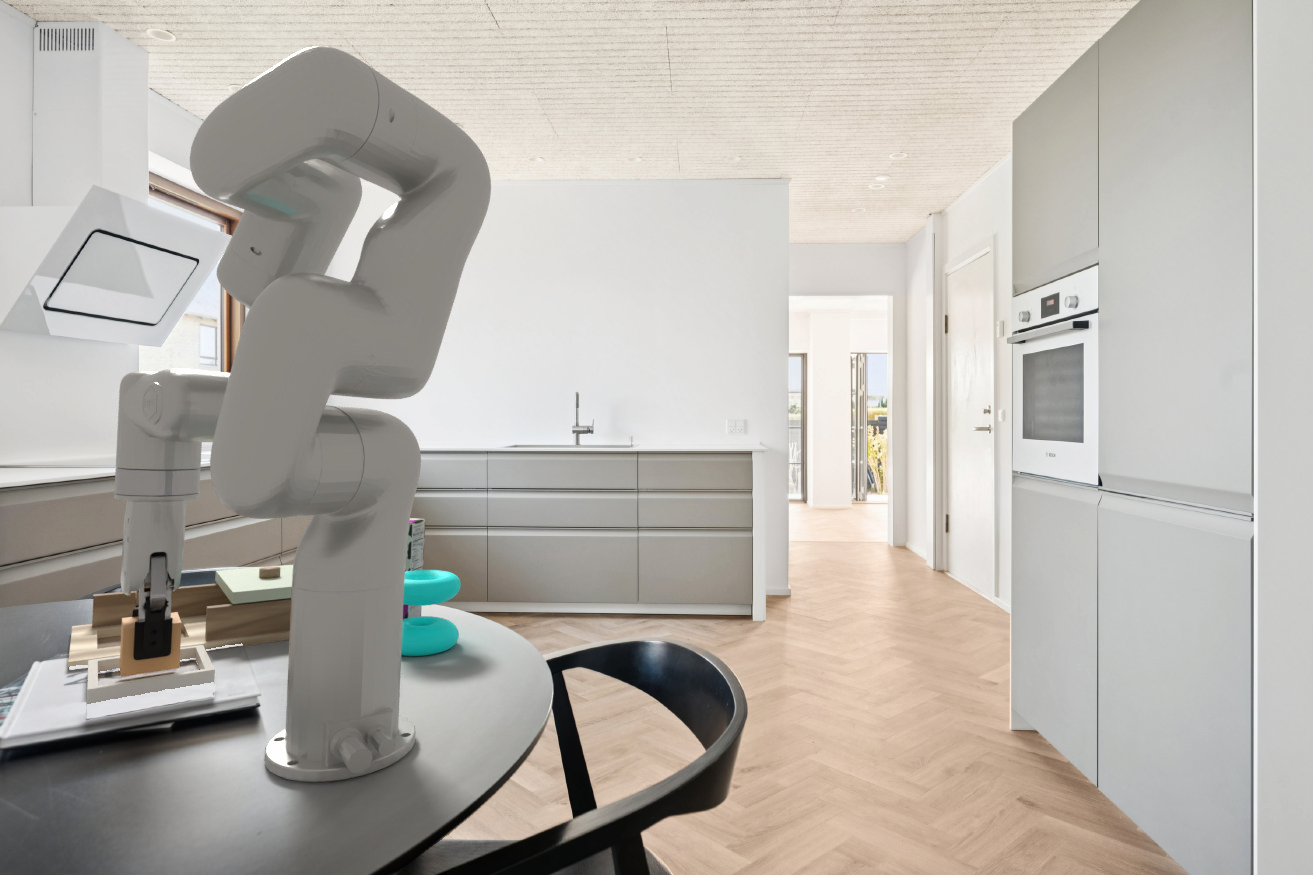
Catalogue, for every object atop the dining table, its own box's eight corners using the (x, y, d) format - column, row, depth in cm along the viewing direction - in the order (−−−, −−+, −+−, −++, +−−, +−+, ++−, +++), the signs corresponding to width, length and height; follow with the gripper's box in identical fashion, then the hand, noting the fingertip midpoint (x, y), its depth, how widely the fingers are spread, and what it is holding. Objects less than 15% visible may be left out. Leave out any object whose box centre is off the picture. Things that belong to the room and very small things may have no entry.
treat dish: (213, 696, 73) (214, 669, 73) (86, 719, 67) (87, 689, 67) (201, 669, 81) (202, 644, 81) (87, 687, 75) (88, 659, 75)
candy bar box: (336, 626, 101) (340, 517, 101) (354, 617, 106) (358, 514, 106) (407, 631, 100) (412, 521, 100) (422, 622, 105) (426, 517, 105)
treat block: (179, 668, 74) (181, 622, 74) (121, 676, 71) (123, 629, 71) (175, 655, 78) (177, 612, 78) (119, 663, 74) (121, 617, 74)
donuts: (415, 565, 99) (474, 571, 97) (412, 633, 99) (472, 641, 97) (368, 578, 90) (433, 585, 87) (365, 653, 90) (430, 662, 87)
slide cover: (326, 594, 93) (326, 574, 93) (232, 604, 86) (233, 582, 86) (299, 573, 105) (299, 556, 105) (215, 580, 98) (216, 562, 98)
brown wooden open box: (328, 644, 93) (330, 596, 93) (67, 684, 75) (69, 625, 75) (299, 616, 106) (301, 574, 106) (71, 645, 88) (73, 594, 88)
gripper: (113, 479, 78) (105, 635, 78) (116, 492, 65) (107, 680, 65) (191, 479, 83) (184, 626, 83) (209, 491, 70) (200, 666, 70)
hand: (150, 648), depth 74 cm, fingers closed on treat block, 5 cm apart
